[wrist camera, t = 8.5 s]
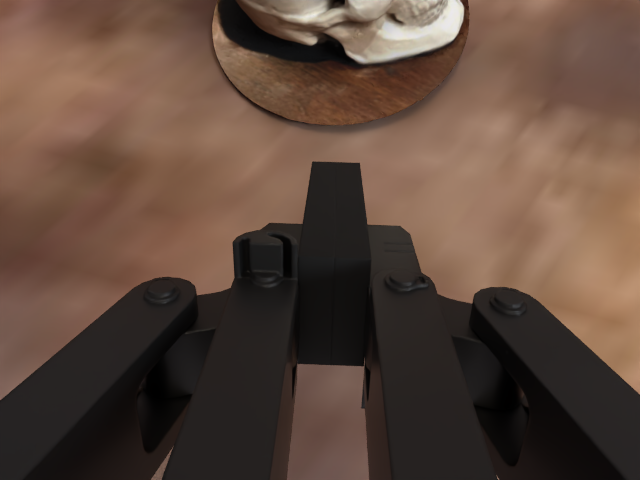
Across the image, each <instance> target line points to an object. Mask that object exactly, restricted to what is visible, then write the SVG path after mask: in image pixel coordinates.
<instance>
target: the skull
mask: <svg viewBox="0 0 640 480" xmlns="http://www.w3.org/2000/svg"><path fill="white" fill-rule="evenodd" d="M468 27H469V6H468V0H218V1H217V4H216V7H215V11H214V17H213V25H212V29H213V30H212V33H213V42H214V48H215V51H216V55H217V57H218V60H219V62H220V64H221V66H222V68H223V70H224V72H225V73H226V75H227V76H228V78H229V79H230V81H231V82H232V83H233V84H234V85H235V86H236V87H237V88H238V90H240V91H241V92H242V93H243V94H244V95H245V96H246V97H248V98H249V99H250V100H251V101H253V102H254V103H256V104H258V105H259V106H261V107H263V108H265V109H266V110H269V111H271V112H274V113H275V114H276V115H277V114H278V115H280V116H283V117H285V118H287V119H290V120H295V121H301V122H306V123H310V124H322V125H343V124H356V123H363V122H369V121H372V120H375V119H379V118H384V117H386V116H390V115H392V114H394V113H397V112H400V111H401V110H403V109H405V108H407V107H408V106H411V105H413V104H414V103H416V102H417V101H418V100H419V101H421V100H422V99H423V97H425V96H426V95H427V94H429V93H430V92H431V91H432V90H434V89H435V88H436V87H437V86H439V84H440V83H441V82H442V81H443V80H444V79H445V77H446V76H447V75H448V74H449V73H450V71H451V70H452V69H453V67H454V66H455V64H456V63H457V61H458V59H459V57H460V55H461V53H462V51H463V48H464V46H465V43H466V39H467V35H468Z"/></svg>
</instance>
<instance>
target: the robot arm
mask: <svg viewBox="0 0 640 480" xmlns="http://www.w3.org/2000/svg"><path fill="white" fill-rule="evenodd" d="M233 258H234V275H235V278H234V281H233V283H232V286H231V288H229V289H227V290H224V291H221V292H216V293H211V294H204V295H197V294H196V289H195V286H194V285H193V284H192V283H191V282H189V281H187V280H184V279H181V278H171V277H162V278H161V277H160V278H155V279H152V280H150V281H147V282H144V283H141V284H140V285H138V286H136V287H135V288H133V289H132V290H131V291H130V292H128V293H127V294H126V295H125V296H124V297H122V298H121V299H120V300H119V301H118V302H116V303H115V304H114V305H113V306H112V307H111V308H109V309H108V310H107V311H106V312H105V313H103V314H102V315H101V316H100V317H99V318H98V319H96V320H95V321H94V322H93V323H92V324H90V325H89V326H88V327H87V328H86V329H85V330H83V331H82V332H81V333H80V334H79V335H77V336H76V337H75V338H74V339H73V340H71V341H70V342H69V343H68V344H67V345H66V346H64V347H63V348H62V349H61V350H60V351H58V352H57V353H56V354H55V355H54V356H53V357H51V358H50V359H49V360H48V361H47V362H45V363H44V364H43V365H42V366H41V367H40V368H38V369H37V370H36V371H35V372H34V373H32V374H31V375H30V376H29V377H28V378H26V379H25V380H24V381H23V382H22V383H21V384H19V385H18V386H17V387H16V388H15V389H13V390H12V391H11V392H10V393H9V394H8V395H6V396H5V397H4V398H3V399H2V400H0V480H151V478H152V477H153V475H154V474H155V472H156V471H157V469H158V468H159V467H160V465H161V464H162V462H163V461H164V459H165V458H166V456H167V455H168V453H169V452H170V450H171V449H172V447H173V446H174V447H173V450H172V452H171V455H170V458H169V461H168V463H167V466H166V469H165V472H164V475H163V477H162V480H287V471H288V461H289V451H290V442H291V432H292V422H293V413H294V403H295V393H296V384H297V364H319V365H345V366H364V356H365V367H364V380H363V394H362V407H361V408H365V415H366V432H367V448H368V465H369V480H498V479H497V476H498V478H499V480H640V395H639V394H638V393H637V392H636V391H635V390H634V389H633V388H632V387H631V386H630V385H629V384H627V383H626V382H625V381H624V380H623V379H622V378H621V377H620V376H619V375H618V374H617V373H616V372H614V371H613V370H612V369H611V368H610V367H609V366H608V365H607V364H606V363H605V362H604V361H602V360H601V359H600V358H599V357H598V356H597V355H596V354H595V353H594V352H593V351H592V350H591V349H589V348H588V347H587V346H586V345H585V344H584V343H583V342H582V341H581V340H580V339H579V338H577V337H576V336H575V335H574V334H573V333H572V332H571V331H570V330H569V329H568V328H567V327H566V326H564V325H563V324H562V323H561V322H560V321H559V320H558V319H557V318H556V317H555V316H554V315H553V314H551V313H550V312H549V311H548V310H547V309H546V308H545V307H544V306H543V305H542V304H541V303H539V302H538V301H537V300H536V299H534V298H533V297H531V296H530V295H528V294H525V293H523V292H520V291H518V290H516V289H512V288H510V289H509V288H507V287H490V288H486V289H481V290H480V291H478V292H477V293H475V295H474V299H473V303H472V304H470V303H466V302H461V301H456V300H453V299H449V298H446V297H443V296H441V295H439V294H437V291H436V288H435V285H434V283H433V282H432V280H431V279H430V278H429V277H427V276H426V275H424V274H423V273H421V269H420V266H419V263H418V259H417V256H416V253H415V249H414V246H413V243H412V239H411V236H410V234H409V233H408V232H407V231H405V230H404V229H403V228H402V227H401V226H387V225H367V218H366V210H365V202H364V194H363V186H362V178H361V170H360V163H342V162H312V168H311V174H310V180H309V187H308V193H307V200H306V206H305V213H304V219H303V224H285V223H269V224H268V225H266V226H265V227H264V228H262V229H261V230H256V231H252V232H247V233H244V234H242V235H240V236H238V237H237V238H236V239H235V240H234V241H233ZM496 475H497V476H496Z"/></svg>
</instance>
